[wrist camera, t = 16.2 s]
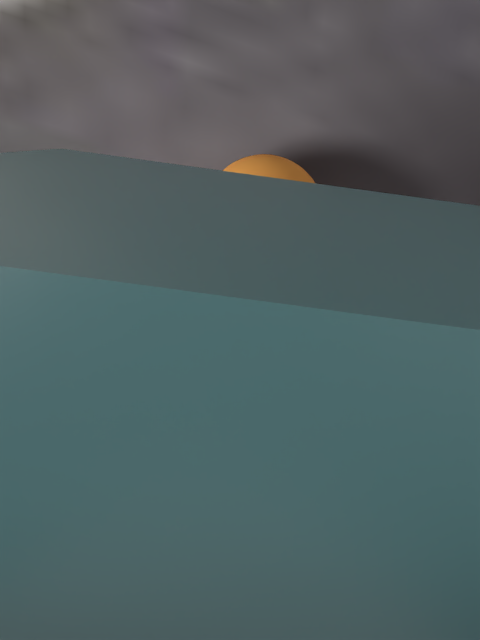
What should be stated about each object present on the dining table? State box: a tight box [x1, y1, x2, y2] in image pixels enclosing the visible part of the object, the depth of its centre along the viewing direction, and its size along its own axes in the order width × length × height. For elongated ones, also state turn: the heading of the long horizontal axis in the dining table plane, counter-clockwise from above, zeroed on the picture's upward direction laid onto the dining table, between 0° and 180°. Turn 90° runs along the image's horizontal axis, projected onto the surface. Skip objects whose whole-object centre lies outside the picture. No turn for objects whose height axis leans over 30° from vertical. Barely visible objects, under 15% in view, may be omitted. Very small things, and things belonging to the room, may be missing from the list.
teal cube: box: [0, 149, 480, 640], centre depth 9 cm, size 10×10×9 cm
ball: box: [223, 154, 315, 183], centre depth 19 cm, size 5×5×5 cm
